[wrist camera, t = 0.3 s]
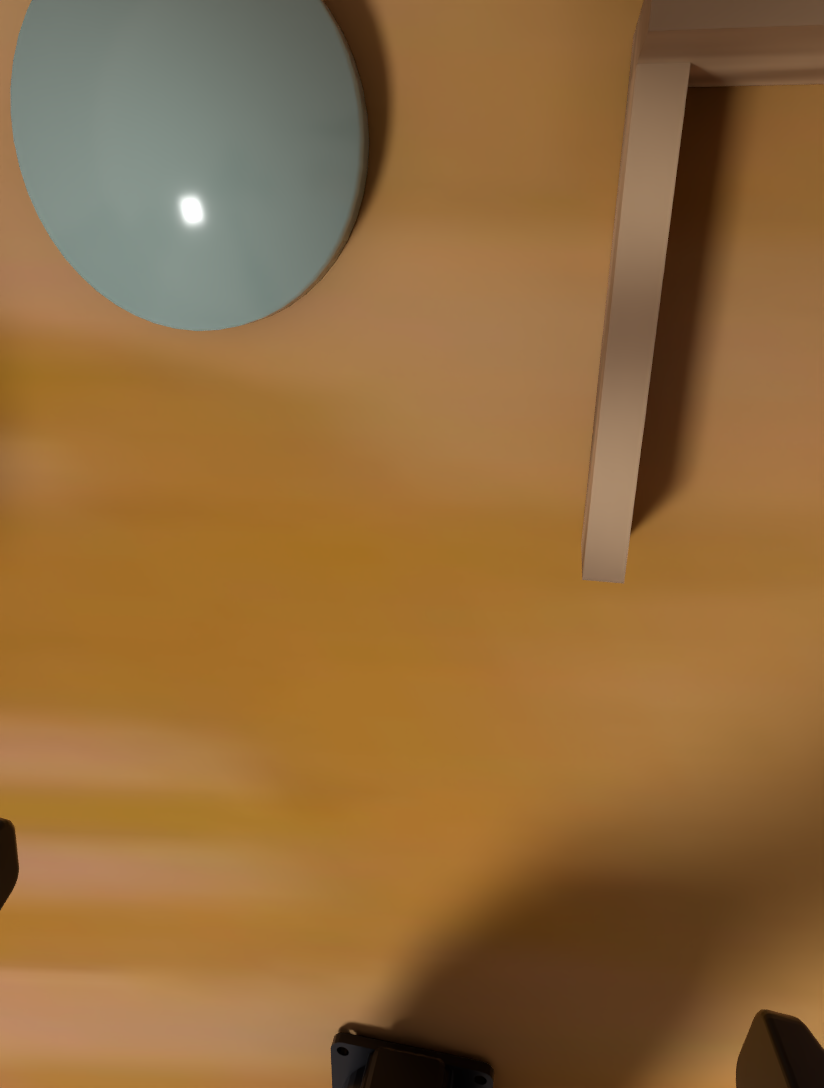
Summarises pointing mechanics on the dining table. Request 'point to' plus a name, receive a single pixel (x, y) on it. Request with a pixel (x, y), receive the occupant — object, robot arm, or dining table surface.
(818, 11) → the wooden frame armchair
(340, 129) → the saucer
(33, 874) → the dining table surface
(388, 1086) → the robot arm
